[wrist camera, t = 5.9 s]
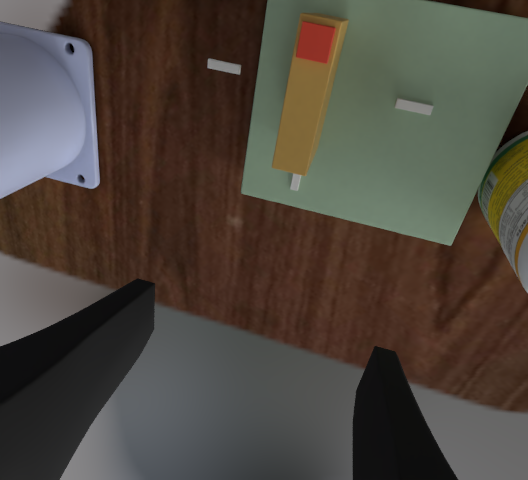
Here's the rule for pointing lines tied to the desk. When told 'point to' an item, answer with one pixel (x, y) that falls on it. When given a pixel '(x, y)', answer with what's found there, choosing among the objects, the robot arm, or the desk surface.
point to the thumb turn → (308, 90)
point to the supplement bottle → (509, 202)
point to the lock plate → (392, 111)
